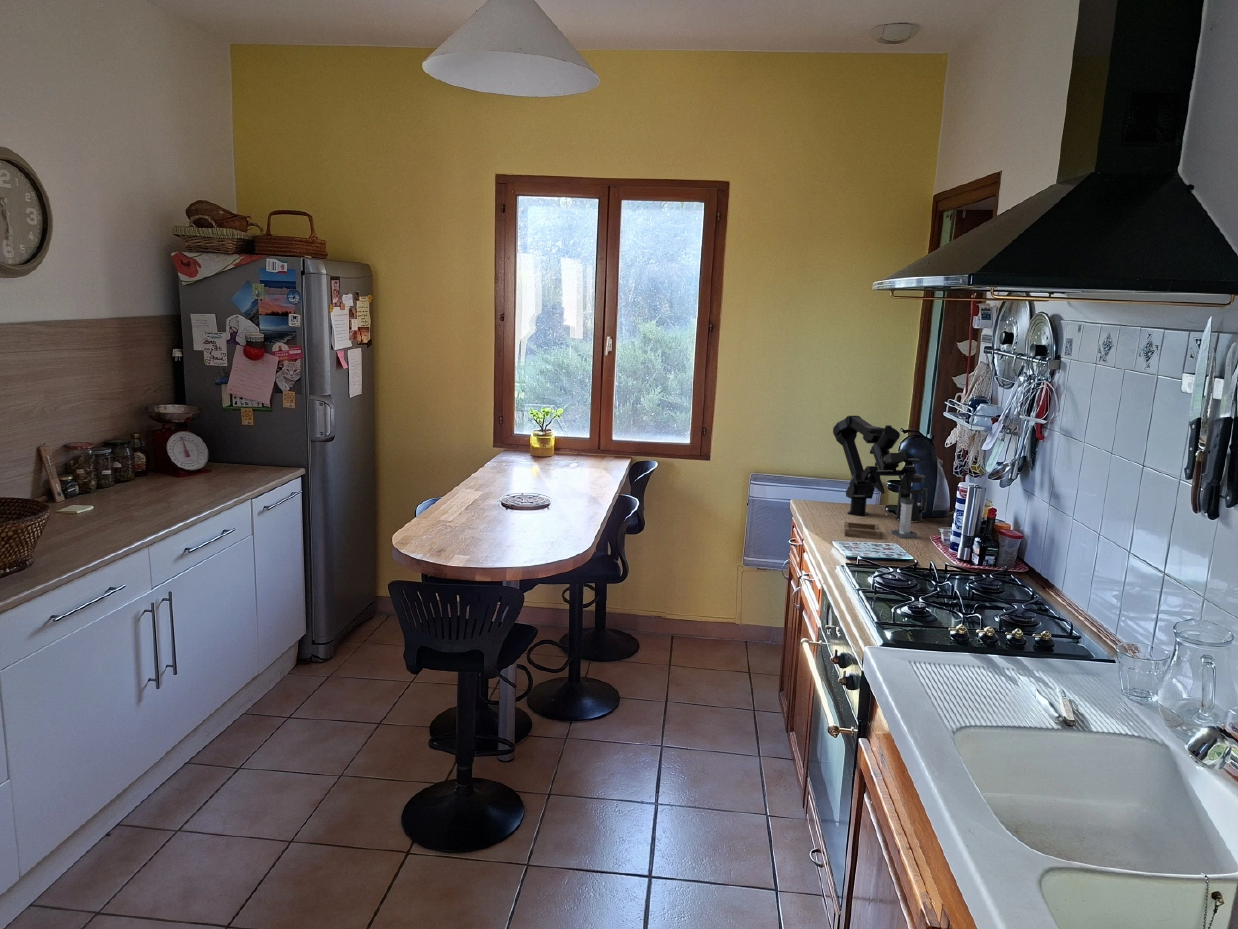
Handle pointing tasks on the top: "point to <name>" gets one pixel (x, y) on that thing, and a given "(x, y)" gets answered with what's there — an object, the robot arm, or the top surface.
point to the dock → (862, 530)
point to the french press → (914, 497)
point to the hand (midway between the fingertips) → (895, 493)
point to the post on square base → (905, 520)
